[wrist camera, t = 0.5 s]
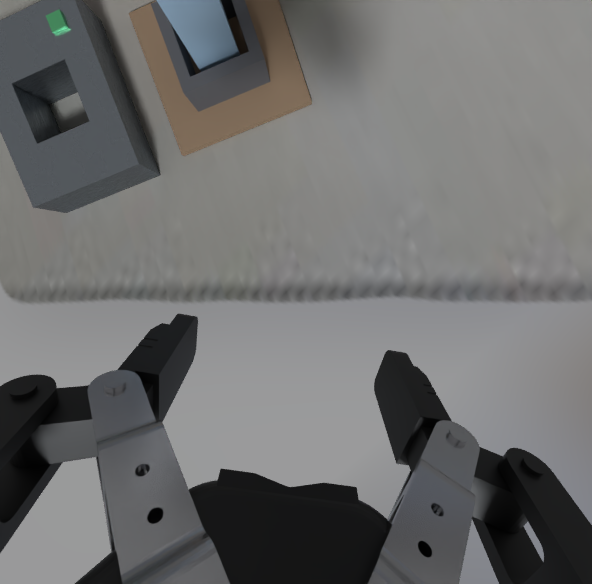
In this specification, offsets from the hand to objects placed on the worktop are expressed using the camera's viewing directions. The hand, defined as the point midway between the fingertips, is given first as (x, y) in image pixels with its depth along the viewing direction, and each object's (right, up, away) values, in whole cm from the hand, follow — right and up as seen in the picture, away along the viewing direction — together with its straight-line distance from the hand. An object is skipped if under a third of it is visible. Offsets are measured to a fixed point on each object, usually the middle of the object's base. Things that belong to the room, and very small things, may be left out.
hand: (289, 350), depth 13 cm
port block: (-25, +23, +23) cm, 41 cm away
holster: (-8, +29, +22) cm, 37 cm away
